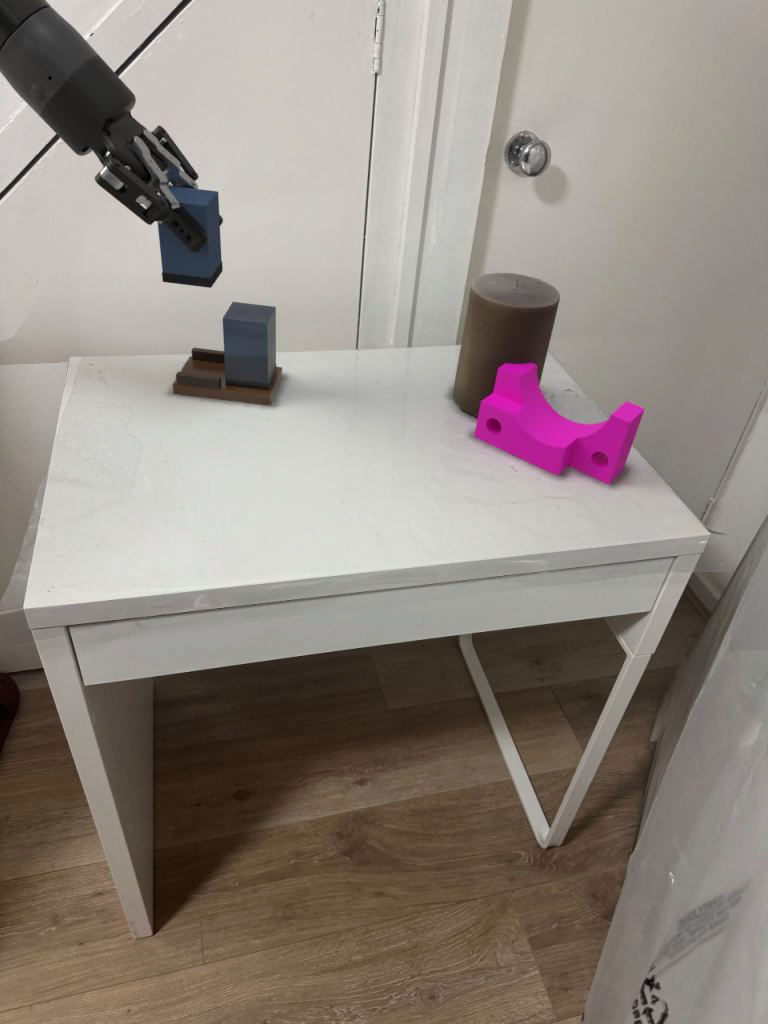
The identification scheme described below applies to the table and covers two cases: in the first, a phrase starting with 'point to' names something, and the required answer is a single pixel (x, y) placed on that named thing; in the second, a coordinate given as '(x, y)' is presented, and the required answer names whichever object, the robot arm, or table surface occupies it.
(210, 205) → the blue rectangular block
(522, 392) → the magenta pipe saddle clamp
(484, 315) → the pillar candle
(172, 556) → the table surface
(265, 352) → the stand
